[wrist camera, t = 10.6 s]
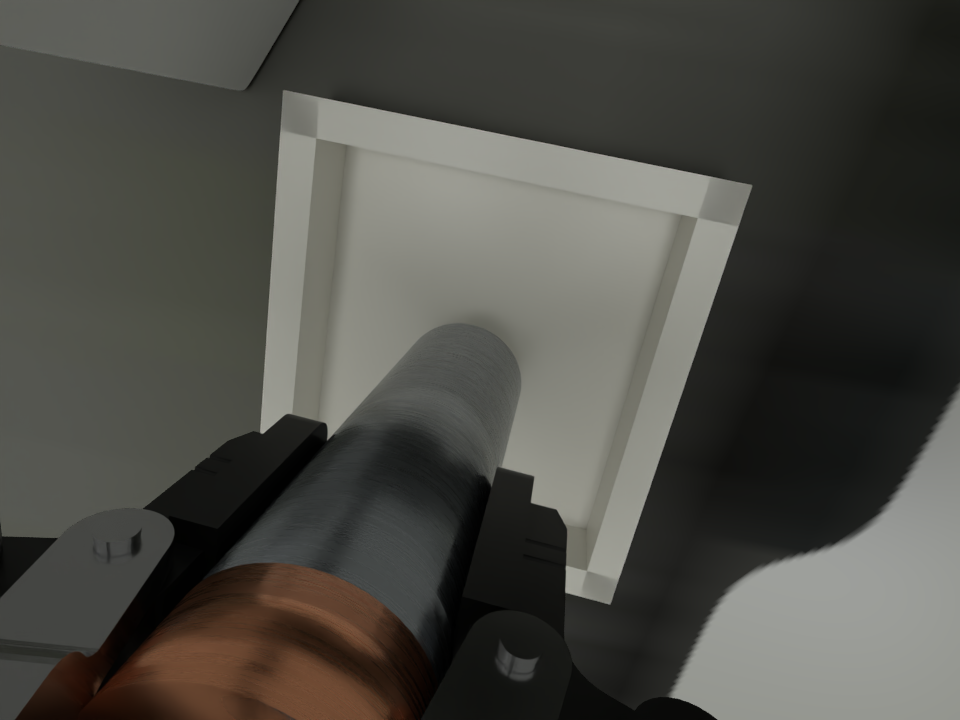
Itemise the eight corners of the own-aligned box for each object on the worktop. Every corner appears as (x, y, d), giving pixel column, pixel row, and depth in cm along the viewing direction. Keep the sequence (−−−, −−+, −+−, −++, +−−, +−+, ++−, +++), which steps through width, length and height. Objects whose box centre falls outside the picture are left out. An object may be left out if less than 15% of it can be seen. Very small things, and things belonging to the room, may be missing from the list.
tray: (329, 100, 18) (283, 89, 15) (724, 180, 17) (752, 185, 14) (295, 465, 23) (255, 509, 20) (606, 546, 22) (610, 604, 19)
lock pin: (412, 310, 16) (50, 634, 5) (534, 338, 16) (428, 748, 5) (395, 420, 18) (68, 880, 6) (508, 448, 17) (375, 982, 6)
